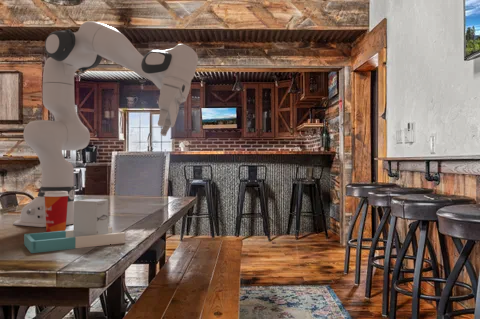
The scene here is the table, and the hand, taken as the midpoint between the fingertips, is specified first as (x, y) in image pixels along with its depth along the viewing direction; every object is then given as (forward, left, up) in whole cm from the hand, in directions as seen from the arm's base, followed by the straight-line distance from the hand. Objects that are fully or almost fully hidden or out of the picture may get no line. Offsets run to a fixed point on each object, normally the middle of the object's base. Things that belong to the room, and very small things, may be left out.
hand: (161, 130), depth 128 cm
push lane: (-21, -13, -34) cm, 42 cm away
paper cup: (-36, -1, -34) cm, 49 cm away
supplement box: (-18, -10, -34) cm, 40 cm away
